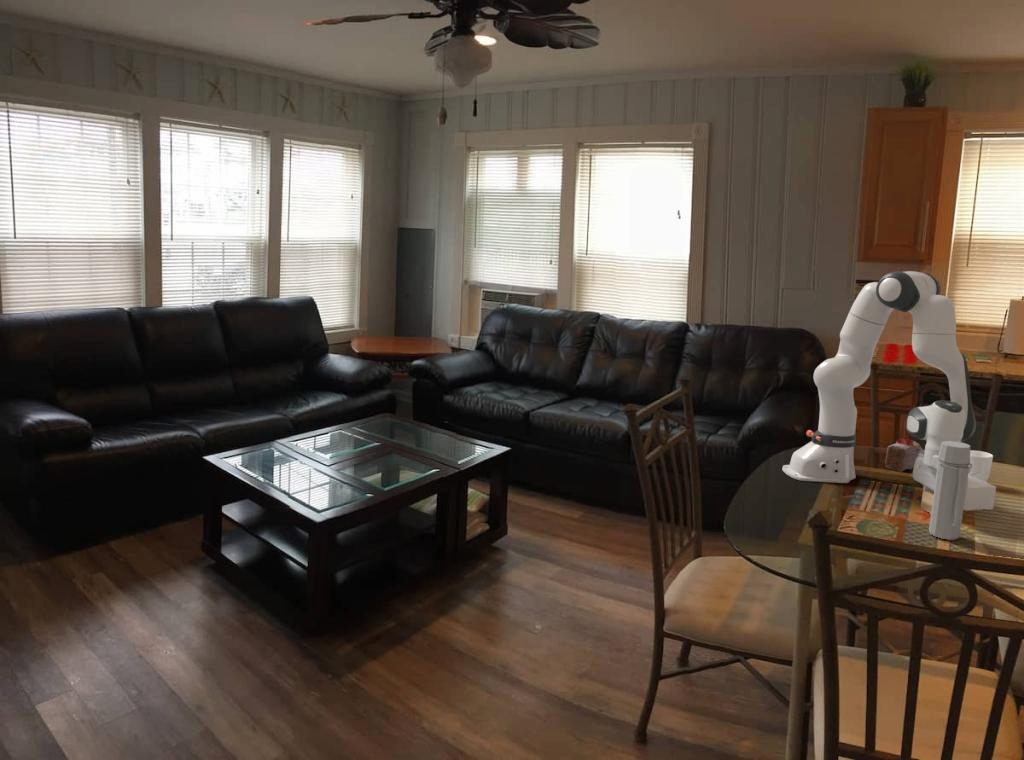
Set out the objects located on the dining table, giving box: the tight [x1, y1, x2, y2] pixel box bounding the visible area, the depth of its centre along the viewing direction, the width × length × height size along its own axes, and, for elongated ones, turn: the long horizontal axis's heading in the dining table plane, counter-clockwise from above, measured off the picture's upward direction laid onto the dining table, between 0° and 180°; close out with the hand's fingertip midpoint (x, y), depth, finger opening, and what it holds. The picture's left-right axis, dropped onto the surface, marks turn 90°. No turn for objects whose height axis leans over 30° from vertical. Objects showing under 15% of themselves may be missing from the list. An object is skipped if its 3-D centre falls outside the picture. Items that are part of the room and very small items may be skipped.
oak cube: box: [920, 490, 934, 515], centre depth 225 cm, size 5×5×5 cm
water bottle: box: [928, 441, 972, 541], centre depth 204 cm, size 9×8×25 cm
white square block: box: [932, 475, 997, 511], centre depth 233 cm, size 12×12×7 cm
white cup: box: [968, 449, 994, 483], centre depth 250 cm, size 8×8×10 cm
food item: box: [884, 438, 924, 473], centre depth 267 cm, size 14×8×10 cm, turn 132°
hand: (935, 505), depth 225 cm, fingers closed on oak cube, 5 cm apart
